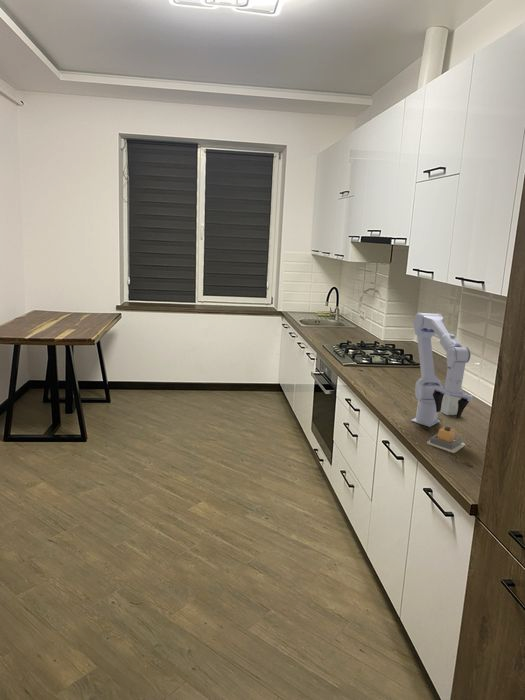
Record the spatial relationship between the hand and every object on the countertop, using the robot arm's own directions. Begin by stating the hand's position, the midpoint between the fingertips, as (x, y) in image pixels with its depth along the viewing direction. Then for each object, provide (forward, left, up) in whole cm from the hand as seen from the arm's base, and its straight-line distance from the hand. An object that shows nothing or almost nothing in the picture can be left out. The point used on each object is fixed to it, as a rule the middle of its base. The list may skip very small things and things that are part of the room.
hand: (448, 414), depth 189 cm
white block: (-29, -10, -9) cm, 32 cm away
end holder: (+7, +4, -9) cm, 12 cm away
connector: (+7, +3, -8) cm, 11 cm away
